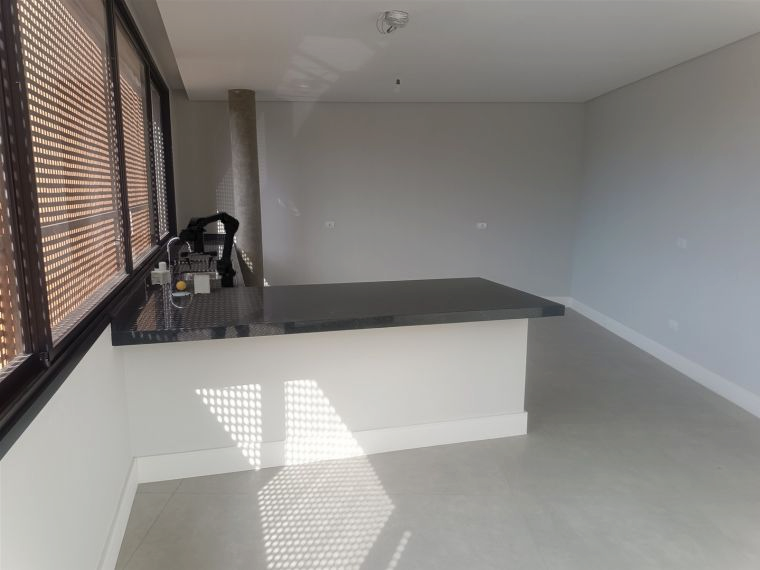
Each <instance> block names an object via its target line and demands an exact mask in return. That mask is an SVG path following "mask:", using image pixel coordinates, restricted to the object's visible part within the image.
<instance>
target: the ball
mask: <svg viewBox="0 0 760 570" xmlns="http://www.w3.org/2000/svg"><path fill="white" fill-rule="evenodd" d="M186 287H187V284H186V282H185V281H181V280H180V281H178V282H177V283H176V288H177V289H178V290H179V291H184V290H185V289H186Z"/></svg>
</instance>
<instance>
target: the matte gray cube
mask: <svg viewBox="0 0 760 570" xmlns="http://www.w3.org/2000/svg"><path fill="white" fill-rule="evenodd" d="M193 283H194V294H196V295H197V293H201V294H211V288H210V287H211V286H210V285H211V284H210V275H209V274H195V275H193Z"/></svg>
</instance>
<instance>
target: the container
mask: <svg viewBox="0 0 760 570" xmlns="http://www.w3.org/2000/svg"><path fill="white" fill-rule="evenodd" d="M153 266H154V270H151V272H150V278H151V284H152V285H155V284H160V285H159V286H164V285H163V284H165V285H168V284H167V283H169V284H171V283H172V278H171V277H172V276H171V270H170V269H169V270H168V269H167V262H165V261H156V262H154V263H153Z"/></svg>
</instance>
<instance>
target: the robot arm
mask: <svg viewBox="0 0 760 570" xmlns="http://www.w3.org/2000/svg"><path fill="white" fill-rule="evenodd" d="M218 221H220V224H222V225H223V230H224V232H225V234H224V240H223V247H222V253H221V257H220V259H218V260H216V266H215V267H216V271H217V274H218V276H221V278H220V286H221V288H230V287H231V288H233V287H235V285H234V277H236V275H237V272H236V270H235V269H234V268H233V262H232V251H233V247H234V239H235V234H236V233H237V232H238V230H239V228H240V221H239V220H238V219H237V218H235V217H233V216H232V215H230V214H228V213H227V212H225V211H218V212H216V213H213V214H209V215H206V216H193V217H191V218H190V220H189V222H188V224H187V226H186V227H185V229H184V228H182V229H181V230H180V232H179V235H178V237H179V241H180V242H181V243H189V242H192V243H191V244H190V251H189V250H181V252H180V253H179V254H180V255H179V256H180V258H182V259H184V260H186V262H187V264H188V268H189V269H190V271H192V262H191V258H190V257H191V256H208V266H207V268H208V269H210V268H211V265H212V261H213V259H214V258H216V257H218V251H217V249H209V251H206V250H205V249H206V248H205V236H204V233H206V232H208V231H207V230H206V227H207V226H208V225H209V224H212V223H215V222H218Z"/></svg>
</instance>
